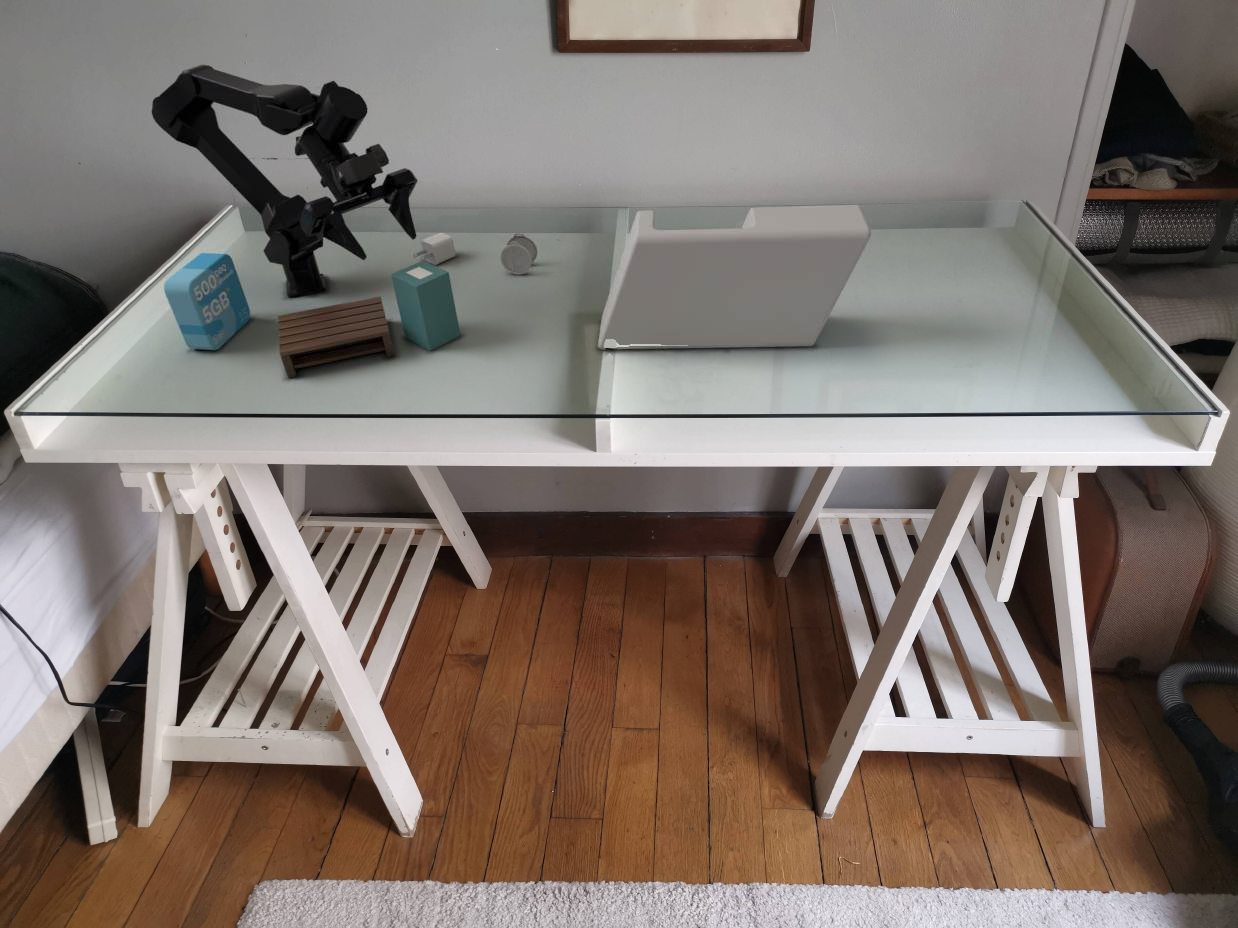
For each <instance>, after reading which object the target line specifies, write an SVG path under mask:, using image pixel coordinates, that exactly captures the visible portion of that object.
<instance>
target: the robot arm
mask: <svg viewBox="0 0 1238 928" xmlns="http://www.w3.org/2000/svg"><path fill="white" fill-rule="evenodd" d="M214 103H216V104H219V105H221V106H225V107H228V108H231V109H234V110H236V111H237V110H238V111H239V112H243V113H246V114H249V115H252V116H254V117H256V118H257V119H258V121H259V122H260V124H261V126H263V127H265V128H267V129H269V130H270V131H273V132H274V133H276V134H278V135H280V136H288V135H290V134H292V133H294V132H297V131H299V130H301V129H303V128H305V129H304V130H303V132H302V133H301V135H299V136H296V137H295V145H294V154H295V156H297V157H299V156H305V155H306V157H307V158H308V159H309V161H310V163H311V164H312V165H313V167H314V168H315V170H316V171H317V173H318V175H319V176H320V181H319V183H320V185H321V186H322V188H323V189H325V188H328V190H329V192H330V193H331V194H332V196H333V198H334V199H335V201H334V202H333V200H332V199H331V197H329V196H327V195H326V196H322V197H319V198H317V199H314V200H311V201H310V200H309V201H307V200H306V199H305V198H304V197H303V196H301V195H300V194H296V195H294V196H292V197H290V196H288V195H284V194H283V193H282V192H281V191H280V190H279V189H278V188H277V187H276V186H275V185H274V184H273V183H272V182H271V181H270V179H268V178H267V177H266V176H265V175H264V173H263V172H262V171H261V170H260V169H259V168H258V167H257V165H255V164H254V163H253V162H252V161H251V160H250V159H249V158H248V157H247V156H246V155H245V153H244V152H242V150H241V149H239V147H238V146H237V145H236V144H235V143H234V142H233V141H232V140H231V139H230V138H229V136H227V134H225V133H224V132H223V131H222V129H221V128H220V126H219V121H218V118H217V113H216V111H215V108H213V105H214ZM368 111H369V110H368V105H367V102H366V101H365V100H364V98H363V97H362V96H361V95H360V93H357V92H355V91H354V90H352V89H350V88H348V87H345V86H341V85H339V84H338V83H337V81H336V80H331V81H328V82H325V83H324V84H323V85H322V87H321V89H320V94H316V93H313V92H311V91H310V90H309V89H308V88H307V87H305V86H303V85H301V84H300V85H299V84H290V83H289V84H288V83H281V84H271V85H270V84H262V83H260V82H256V81H253V80H250V79H247V78H243V77H240V76H238V75H234V74H230V73H227V72H224V71H221V70H218V69H215V68H213V66H211V65H209V64H199V65H196V66H193V67H191V68H188V69H184V70H182V71H181V73H180V74H178V76H177V77H176V79H175V81H174V82H172V83H171V84H170V85H169V86H168V87H167V88H166V89H165V90H164V91H162V92H161V94H159V96H156V97H154V98H153V100H152V105H151V116H152V118H153V120H154V122H155V123H156V124H157V126H159V128H161V129H162V130H163V131H164V132H165V133H166V134H167V135H169V136H170V137H171V138H173V140H175V141H176V142H179V143H181V144H184V145H187V146H189V147H191V148H194V149H196V150H198V152H200V153H201V155H203V157H204V158H205V159H206V160H207V161H208V162H209V163H210V164H211V165H212V166H213V167H214V168H215V169H216V170H217V171H218V172H219V173H220V174H221V176H223V177H224V179H225V180H227V181H228V183H230V185H231V186H233V188H234V189H235V190H236V191H237V192H238V193H239V194H240V195H241V196H242V197H243V198H244V200H246V201H247V202H248V203H249V204H250V205H251V206H252V208H254V209H255V210H256V212H257V213H259V216H261V221H262V225H263V229H264V233H265V234H266V235H267V237H268V238H269V240H268V241H267V244H266V246H264V248H263V253H264V255H265V257H266V258H267V261H268V262H269V263H271V264H276V265H281V266H282V270H283V273H284V276H285V284H286V285H285V286H286V295H287V297H288V298H291V297H298V296H303V295H309V294H314V293H315V294H316V293H319V292H324V291H326V290H327V287H326V281H325V275H324V273H323V272H320V269H319V265H318V262H317V258H316V255H315V251H317V250H318V249H320V248H323V247H324V239H326V240H328V241H330V242H332V243H333V244H336V245H338V246H340V247H341V248H343V249H345V250H346V251H348V252H349V253H351V254H352V255H354V256H355V257H357V258H358V259H360V260H361V261H365V260H367V254H366V252H365V250H364V249H363V246H362V245H361V244H360V243H359V241H358V240H357V239H356V237H355V236H354V234H353V233H352V232H351V230H350V229H349V227H348V226H347V224H346V222H345V219H344V217H343V214H346V213H348V212H351V211H354V210H357V209H359V208H363V207H364V206H367V205H370V204H374V203H375V202H378V201H381V200H383V201H384V203H385V204H387V205H389V207H388V211H389V213H390V214H391V215H392V216H393V218H394V219H395V221H396V222H397V223H398V225H399V226H400V227H401V228H402V230H403V231H404V232H405V234H406V235H408V236H409V238H410V239H411V240H413V241H414V240H416V238H417V231H416V228H415V223H414V221H413V216H412V212H411V207H410V197H411V195H412V193H413V191H414V190H415V187H416V185H417V183H418V181H419V180H418V179H417V177H416V176H415V174H414V172H413V171H411V169H408V168H406V167H404V168H402V169H401V168H400V169H398V170H395V171H392V172H389V173H387V174H386V175H385V177H384V180H383V182H382V184H381V185H378V186H375V187H373V184H375V183H376V181H377V177H376V176H377V175H379V174H383V173H384V170H383V168H384V167H385V166H387V165H389V164H390V159H389V157H388V154H387V152H386V151H385V150H384V148H383V147H382V146H381V144H380V143H377V144H373V145H371V146H369V147H367V148H365V153H364V154H361V155H358V154H357V153H356V152H352V153H351V152H350V151H349V149H348V148H347V146H346V145H345V143H347V144H348V142H350V141H352V139H353V138H354V136H355V134H356V132H357V131H358V130H359V127H360V126H361V124H362V123H363V122H364V120H365V118H366V116H367V114H368Z"/></svg>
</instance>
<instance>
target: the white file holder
mask: <svg viewBox="0 0 1238 928" xmlns="http://www.w3.org/2000/svg"><path fill="white" fill-rule="evenodd" d="M655 215H656V214H655V210H651V209H650V210H637V212H636V214H635V217H634V220H633V223H632V226H631V228H630V232H629V234H628V239H627V240H626V244H625V247H624V250H623V252H622V256H621V259H620V261H619V264H618V268H617V271H616V273H615V276H614V279H613V282H612V285H611V288H610V291H609V294H608V297H607V299H606V303H605V306H604V309H603V312H602V315H601V320H600V326H599V334H598V342H597V347H598V349H599V350H605V349H604V347H603V345H604V342H605V340H606V339H614V340H616V342H617V343H618V344H619V345H630V344H661V345H688V346H629V347H617V349H616V350H651V349H652V350H656V349H657V350H658V349H660V350H663V349H713V348H714V349H716V348H717V349H719V348H720V349H722V348H725V349H727V348H781V347H783V348H784V347H787V348H788V347H812V346H814V345H815V343H816V342H817V340H818V338H819V336H820V334H821V333H822V330H823V329H824V327H825V325H826V323H827V321H828V319H829V317H830V315H831V313H832V311H833V309H834V307H835V306H836V304H837V302H838V300H839V298H840V297H841V295H842V293H843V290H844V288H845V287H846V286H847V283H848V280H849V279H850V277H851V275H852V274H853V271H854V269H855V268H856V265H857V264H858V262H859V260H860V258H861V256H862V254H863V252H864V250H865V248H866V247H867V244H868V243H869V241H870V239H871V235H872V230H871V228H870V226H869V223H868V221H867V219H866V216H865V213H864V211H863V209H862V207H861V205H860V204H840V205H839V204H837V205H836V204H835V205H801V206H800V205H799V206H797V205H796V206H761V207H760V206H758V207H751V208H749V210H748V213H747V215H746V217H745V220H744V222H743V224H742V227H741V228H735V227H734V228H704V229H703V228H702V229H701V228H700V229H698V228H697V229H656V228H655Z"/></svg>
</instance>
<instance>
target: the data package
mask: <svg viewBox="0 0 1238 928" xmlns="http://www.w3.org/2000/svg"><path fill="white" fill-rule="evenodd" d="M163 292H164V294H165V297H166V299H167V301H168V304H169V307H170V309H171V311H172V314H173V316H174V318H175V321H176V324H177V326H178V328H179V330H180V333H181V336H182V338H183V341H184V343H185V345H186V346H187V348H189V349H192V350H204V351H205V350H206V351H207V350H208V351H218V350H219V349H221V347H222V346H224V344H226V343H227V342H228V341H229V340H230V339H231V338H232V337H233V336H234V335H235V334H236V333H237V332H238V331H239V330H240V329H242V327H243V326H245V325H246V323H248V322H249V320H250V317H251V309H250V306H249V303H248V301H247V297H246V294H245V291H244V289H243V286H242V284H241V280H240V278H239V275H238V272H237V269H236V267H235V264H234V261H233V258H232V257H231V256H230V255H229V254H227V253H213V252H212V253H210V252H200V253H199V254H198V255H196V256H195V257H194V258H193V259H191V260H190V261H188V263H186V264H185V265H183V266H182V267H181V268H179V269H178V270H177V271H176V272H175V273H173V274H172V275H171V276H169V277H167V279H166V280H165V282H164V285H163Z"/></svg>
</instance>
